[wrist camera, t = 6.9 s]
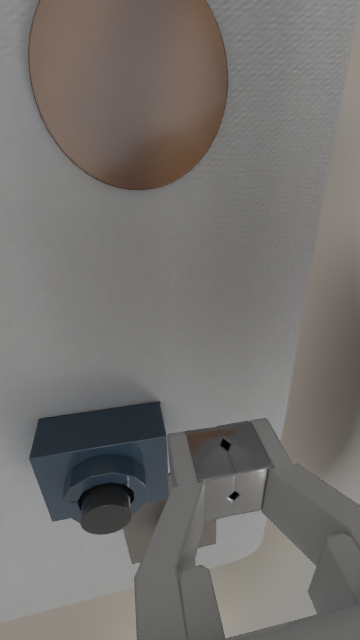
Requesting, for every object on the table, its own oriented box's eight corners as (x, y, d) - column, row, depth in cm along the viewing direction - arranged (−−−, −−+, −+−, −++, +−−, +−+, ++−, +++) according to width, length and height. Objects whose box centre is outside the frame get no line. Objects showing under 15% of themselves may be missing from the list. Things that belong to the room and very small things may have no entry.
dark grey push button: (128, 476, 27) (129, 500, 25) (132, 504, 29) (133, 528, 27) (78, 485, 26) (76, 510, 24) (86, 514, 28) (84, 538, 26)
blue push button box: (159, 401, 31) (169, 454, 26) (162, 462, 35) (172, 517, 30) (38, 418, 29) (23, 479, 24) (58, 480, 33) (49, 543, 28)
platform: (132, 564, 44) (136, 625, 39) (112, 485, 35) (113, 551, 30) (215, 543, 46) (230, 599, 41) (217, 463, 37) (236, 521, 32)
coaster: (231, -43, 17) (234, -47, 16) (220, 186, 22) (222, 187, 22) (4, -62, 15) (1, -67, 14) (53, 192, 20) (52, 193, 20)
